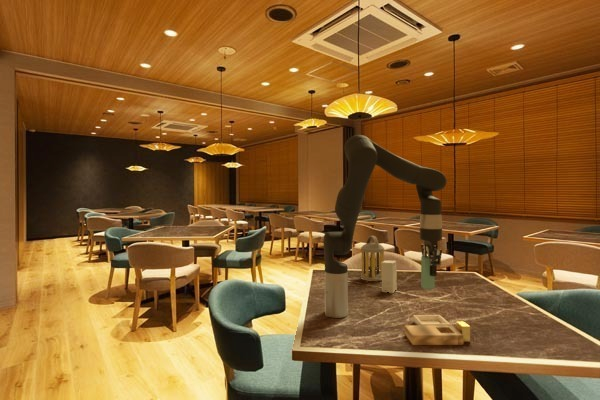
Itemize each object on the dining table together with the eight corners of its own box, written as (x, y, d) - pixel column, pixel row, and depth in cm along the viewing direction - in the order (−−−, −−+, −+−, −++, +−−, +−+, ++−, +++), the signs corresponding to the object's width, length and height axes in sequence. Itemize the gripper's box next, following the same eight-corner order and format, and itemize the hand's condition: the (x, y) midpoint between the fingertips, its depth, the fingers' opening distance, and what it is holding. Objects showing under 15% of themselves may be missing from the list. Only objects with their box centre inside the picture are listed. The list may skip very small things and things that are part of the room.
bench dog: (462, 341, 104) (462, 326, 104) (456, 336, 108) (456, 321, 108) (470, 341, 104) (469, 326, 104) (463, 336, 108) (463, 321, 108)
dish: (422, 331, 112) (422, 324, 112) (413, 321, 121) (413, 315, 121) (450, 331, 112) (450, 324, 112) (439, 321, 121) (439, 314, 121)
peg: (424, 289, 115) (424, 258, 114) (421, 286, 118) (421, 256, 118) (434, 289, 115) (434, 258, 114) (430, 286, 118) (430, 256, 118)
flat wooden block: (412, 344, 102) (412, 335, 102) (404, 334, 110) (404, 325, 110) (463, 344, 102) (463, 335, 102) (451, 334, 110) (451, 325, 110)
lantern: (356, 277, 190) (355, 234, 190) (377, 275, 195) (376, 233, 194) (368, 283, 177) (367, 237, 177) (390, 280, 181) (390, 236, 181)
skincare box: (393, 293, 157) (393, 263, 156) (381, 292, 160) (380, 262, 159) (397, 289, 164) (397, 260, 164) (385, 287, 167) (385, 259, 167)
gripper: (450, 228, 109) (450, 279, 109) (433, 225, 123) (433, 269, 123) (427, 229, 109) (428, 279, 109) (413, 225, 123) (413, 270, 123)
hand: (430, 274), depth 116 cm, fingers closed on peg, 3 cm apart
